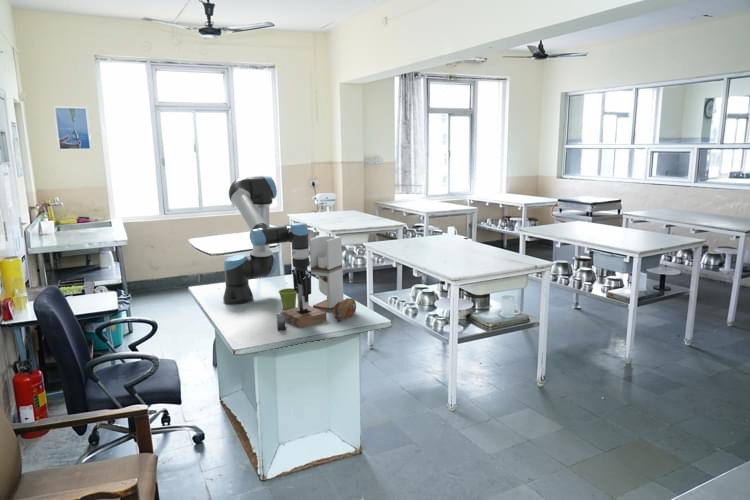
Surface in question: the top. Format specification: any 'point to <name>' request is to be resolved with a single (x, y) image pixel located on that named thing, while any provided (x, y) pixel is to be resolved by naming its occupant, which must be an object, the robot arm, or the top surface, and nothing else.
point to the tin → (344, 309)
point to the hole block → (304, 317)
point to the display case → (327, 269)
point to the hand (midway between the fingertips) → (303, 307)
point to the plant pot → (288, 298)
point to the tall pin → (300, 290)
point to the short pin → (281, 322)
